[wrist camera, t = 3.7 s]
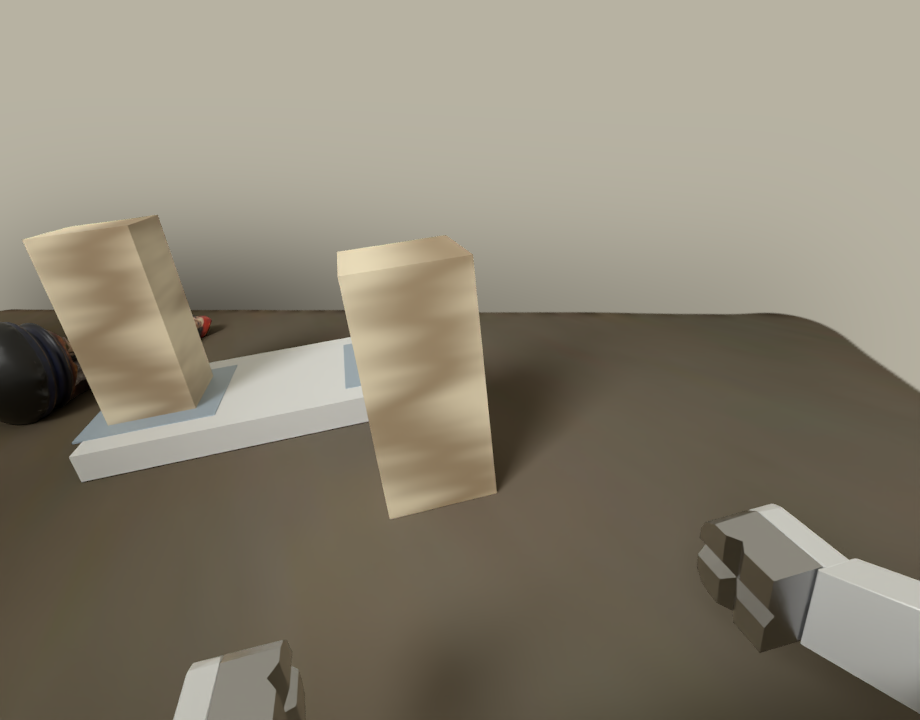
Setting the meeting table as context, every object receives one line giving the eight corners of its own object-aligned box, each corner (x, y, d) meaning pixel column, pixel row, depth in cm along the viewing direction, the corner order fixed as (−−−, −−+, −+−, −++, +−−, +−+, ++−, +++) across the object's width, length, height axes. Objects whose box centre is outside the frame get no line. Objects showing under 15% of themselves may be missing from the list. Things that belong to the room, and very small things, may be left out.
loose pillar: (390, 519, 20) (337, 276, 16) (380, 458, 24) (337, 251, 20) (496, 493, 21) (472, 254, 17) (470, 437, 25) (445, 235, 21)
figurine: (-87, 314, 30) (186, 270, 45) (-58, 410, 33) (190, 338, 48) (-20, 354, 27) (246, 293, 42) (5, 455, 30) (247, 364, 45)
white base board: (70, 484, 25) (57, 458, 24) (140, 396, 34) (131, 376, 33) (475, 398, 28) (472, 374, 28) (441, 339, 37) (438, 320, 37)
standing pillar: (108, 425, 27) (21, 239, 23) (137, 390, 31) (68, 226, 27) (195, 408, 28) (127, 225, 24) (213, 376, 32) (157, 214, 28)
